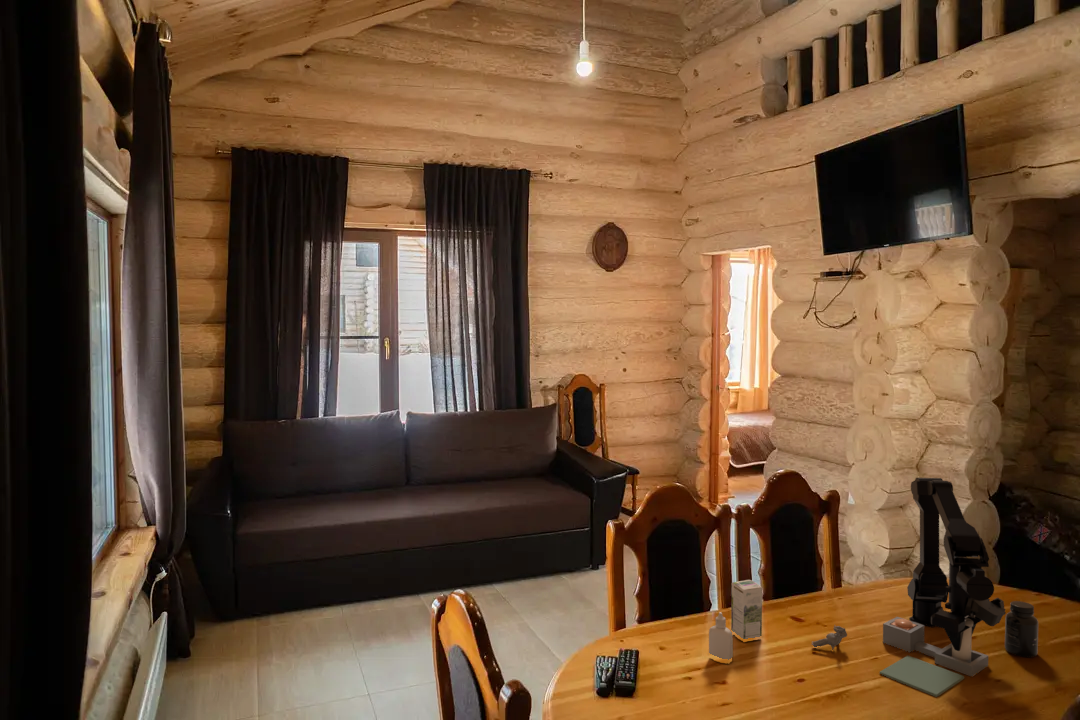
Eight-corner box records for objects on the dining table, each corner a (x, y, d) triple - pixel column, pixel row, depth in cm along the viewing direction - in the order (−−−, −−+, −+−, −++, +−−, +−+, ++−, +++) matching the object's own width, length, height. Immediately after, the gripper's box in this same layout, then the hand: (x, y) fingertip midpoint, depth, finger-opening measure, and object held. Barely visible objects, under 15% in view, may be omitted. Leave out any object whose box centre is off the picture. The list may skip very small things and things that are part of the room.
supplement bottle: (1042, 659, 177) (1044, 611, 176) (1011, 657, 178) (1012, 609, 177) (1030, 646, 183) (1031, 599, 182) (999, 644, 185) (1000, 598, 184)
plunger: (890, 642, 187) (890, 621, 186) (899, 638, 189) (899, 617, 189) (907, 649, 183) (907, 627, 183) (916, 644, 186) (916, 622, 185)
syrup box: (749, 631, 195) (749, 578, 194) (762, 640, 190) (762, 586, 189) (730, 634, 193) (730, 581, 192) (743, 644, 188) (743, 589, 187)
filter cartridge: (946, 663, 175) (947, 619, 175) (955, 657, 178) (956, 614, 177) (967, 670, 172) (967, 626, 171) (975, 664, 174) (976, 620, 174)
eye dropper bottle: (721, 653, 183) (721, 607, 182) (735, 663, 178) (734, 615, 177) (706, 657, 181) (706, 610, 181) (719, 667, 176) (719, 618, 175)
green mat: (879, 674, 171) (879, 671, 171) (907, 657, 179) (907, 655, 179) (936, 697, 161) (936, 694, 161) (964, 678, 168) (964, 676, 168)
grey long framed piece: (881, 643, 187) (881, 624, 186) (898, 634, 191) (898, 615, 191) (971, 676, 169) (972, 655, 169) (988, 665, 174) (988, 645, 174)
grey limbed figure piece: (807, 640, 190) (841, 628, 189) (818, 663, 186) (852, 651, 185) (806, 628, 182) (841, 616, 181) (818, 652, 178) (853, 640, 178)
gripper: (981, 604, 162) (980, 672, 163) (1017, 584, 173) (1015, 648, 174) (930, 589, 171) (929, 654, 172) (967, 571, 182) (966, 632, 183)
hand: (961, 647), depth 175 cm, fingers closed on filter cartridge, 4 cm apart
